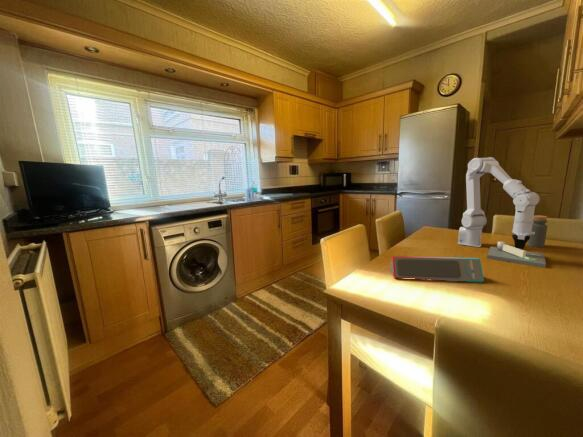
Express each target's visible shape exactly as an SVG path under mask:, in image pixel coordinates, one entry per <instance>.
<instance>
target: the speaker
mask: <svg viewBox="0 0 583 437" xmlns="http://www.w3.org/2000/svg"><path fill="white" fill-rule="evenodd" d="M390 270H391V271H390ZM389 271H390V273H391V272H392V273H391V275H392V274H393V275H392V277H393V276H394V277H395V278H415V279H431V280H430V281H432V280H446V281H445V282H457V281H467V282H466V283H483V282H484V281H485V278H484V274H483V267H482V263H481V259H480V258H478V257H463V256H462V257H461V256H459V257H458V256H457V257H453V256H450V257H448V256H445V257H443V256H407V255H404V256H402V255H401V256H400V255H393V256H392V257H391V262H390V266H389ZM394 277H393V278H394ZM395 278H394V279H395Z"/></svg>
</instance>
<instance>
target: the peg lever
mask: <svg viewBox="0 0 583 437" xmlns="http://www.w3.org/2000/svg"><path fill="white" fill-rule="evenodd" d="M496 247H497V249H498V250H503V251H506V252H508V253H511V254H514V255H517V256H519V257H522V258H526V259H530V258H528V257H525V256H526V250H524V249H523V250H521V249H518V248H515V246H512V245H509V244H507V242H506V241H502V240H501V241H497V245H496Z"/></svg>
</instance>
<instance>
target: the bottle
mask: <svg viewBox="0 0 583 437" xmlns="http://www.w3.org/2000/svg"><path fill="white" fill-rule="evenodd" d="M547 218H548V216H547V215H538V214H537V215H535V214H534V217H533V223H532V229H531V232H535V234H530V235H528V236H530V239H529V240H528V241H527V246H529V247H531V248H540V249H541V248H545V243H546V237H547V230H548V225H547V224H546V223H548V220H547Z"/></svg>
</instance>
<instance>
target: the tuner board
mask: <svg viewBox="0 0 583 437" xmlns="http://www.w3.org/2000/svg"><path fill="white" fill-rule="evenodd" d="M525 251H526V250H525ZM525 257H528V258H530V259H526V258H522V257H519V256H517V255H514V254H511V253H508V252H506V251H503V250H498V249H497V246H490V247H489V250H488V252H487V256H486V259H488V260H489V259H491V260H497V261H502V262H508V263H513V264H521V265H526V266H531V267H539V268H544V269H545V268H546V267H547V266H546V265H547V263H546V258H545V253H540V252H534V251H526V256H525Z"/></svg>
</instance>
